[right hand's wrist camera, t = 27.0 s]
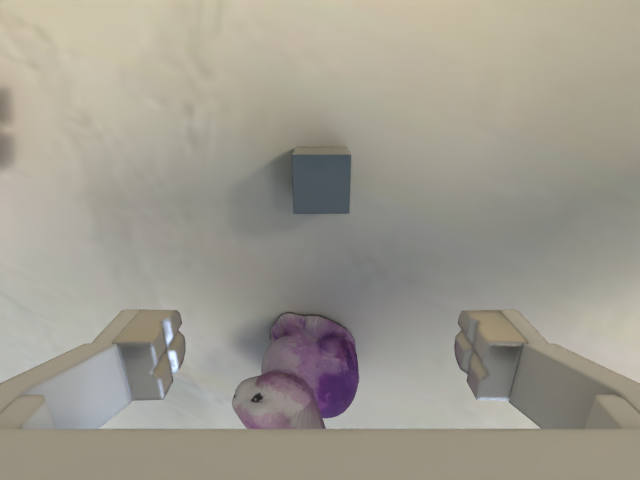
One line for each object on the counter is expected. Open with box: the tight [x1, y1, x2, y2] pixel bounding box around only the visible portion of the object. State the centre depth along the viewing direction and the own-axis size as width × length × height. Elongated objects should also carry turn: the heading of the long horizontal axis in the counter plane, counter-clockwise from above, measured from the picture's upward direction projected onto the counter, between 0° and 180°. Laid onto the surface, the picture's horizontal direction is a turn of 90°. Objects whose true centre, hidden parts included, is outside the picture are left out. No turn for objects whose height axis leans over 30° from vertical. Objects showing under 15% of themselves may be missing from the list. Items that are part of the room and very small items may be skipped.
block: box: [292, 147, 351, 214], centre depth 30 cm, size 4×5×4 cm
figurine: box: [232, 313, 359, 429], centre depth 31 cm, size 9×10×15 cm
